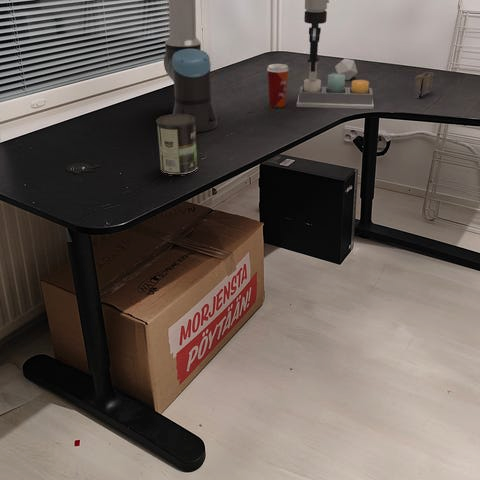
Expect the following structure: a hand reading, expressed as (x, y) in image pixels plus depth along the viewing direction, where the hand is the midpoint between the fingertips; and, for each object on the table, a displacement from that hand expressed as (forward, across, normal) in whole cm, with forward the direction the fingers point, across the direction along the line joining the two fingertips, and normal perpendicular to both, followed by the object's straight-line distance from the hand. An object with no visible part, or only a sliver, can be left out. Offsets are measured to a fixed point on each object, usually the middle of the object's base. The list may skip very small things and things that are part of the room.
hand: (312, 79), depth 217 cm
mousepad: (+9, -70, +57) cm, 91 cm away
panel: (+8, 0, -8) cm, 12 cm away
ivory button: (+6, 0, 0) cm, 6 cm away
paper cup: (+8, -5, +12) cm, 16 cm away
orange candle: (+6, 0, -17) cm, 18 cm away
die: (+8, +34, -12) cm, 37 cm away
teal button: (+4, 0, -8) cm, 9 cm away
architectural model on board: (+9, +14, -41) cm, 44 cm away
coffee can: (+8, -68, +33) cm, 76 cm away
